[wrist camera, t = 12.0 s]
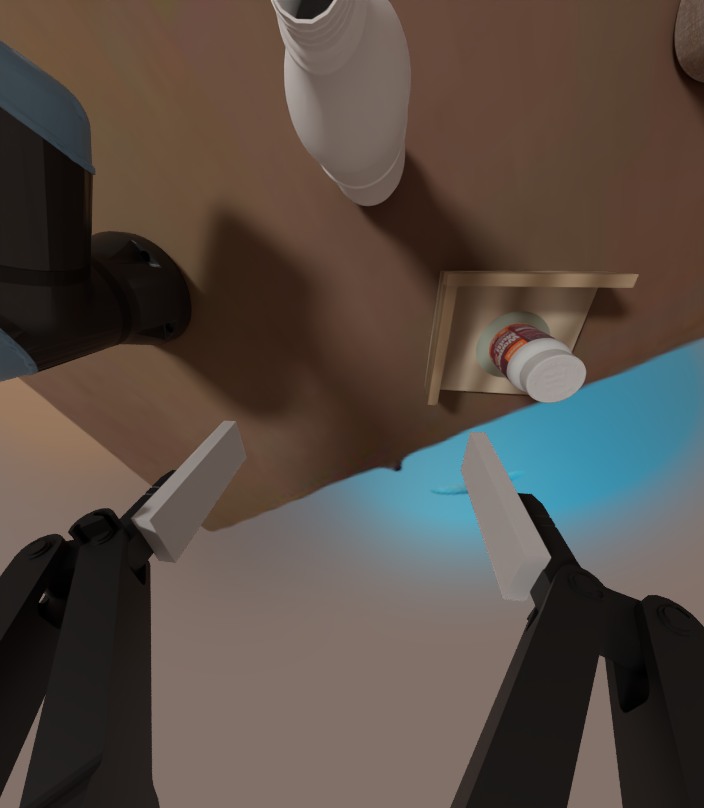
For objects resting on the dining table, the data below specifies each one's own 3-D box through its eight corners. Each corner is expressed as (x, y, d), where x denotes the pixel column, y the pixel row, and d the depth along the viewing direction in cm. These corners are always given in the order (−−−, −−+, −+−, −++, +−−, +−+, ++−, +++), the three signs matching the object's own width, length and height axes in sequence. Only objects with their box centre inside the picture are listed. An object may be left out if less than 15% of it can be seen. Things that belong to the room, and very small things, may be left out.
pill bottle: (494, 320, 35) (532, 347, 25) (545, 322, 34) (605, 350, 24) (482, 365, 38) (512, 405, 28) (529, 368, 37) (576, 409, 27)
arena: (424, 386, 41) (428, 404, 36) (440, 270, 34) (448, 273, 29) (550, 393, 39) (573, 414, 34) (599, 271, 31) (638, 274, 26)
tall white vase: (414, 185, 30) (459, 7, 8) (357, 222, 32) (279, 160, 11) (387, 107, 27) (351, -450, 6) (328, 154, 30) (145, -109, 8)
